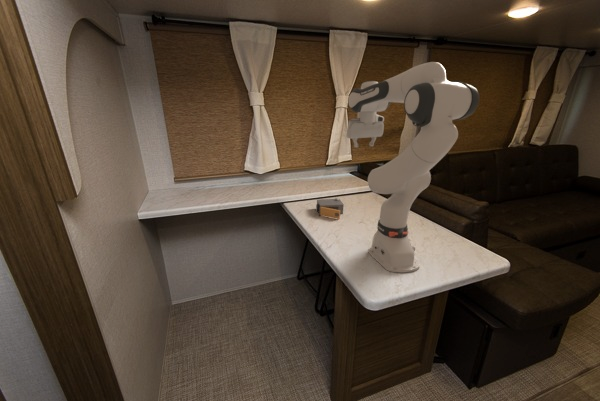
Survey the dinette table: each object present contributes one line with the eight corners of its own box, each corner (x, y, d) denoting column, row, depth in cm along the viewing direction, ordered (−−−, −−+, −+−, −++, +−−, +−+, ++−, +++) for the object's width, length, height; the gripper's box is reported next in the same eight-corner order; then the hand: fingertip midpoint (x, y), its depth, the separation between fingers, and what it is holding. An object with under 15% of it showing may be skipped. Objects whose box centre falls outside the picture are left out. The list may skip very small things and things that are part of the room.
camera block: (343, 213, 153) (343, 203, 150) (317, 215, 151) (318, 204, 148) (338, 207, 162) (339, 197, 159) (314, 208, 160) (315, 198, 158)
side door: (338, 220, 144) (339, 211, 142) (318, 215, 150) (318, 207, 148) (339, 219, 146) (340, 210, 144) (319, 214, 151) (319, 206, 149)
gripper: (352, 119, 118) (350, 149, 123) (387, 117, 126) (383, 146, 131) (344, 118, 123) (343, 147, 129) (378, 117, 131) (375, 144, 137)
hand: (363, 146), depth 130 cm, fingers open, 8 cm apart
